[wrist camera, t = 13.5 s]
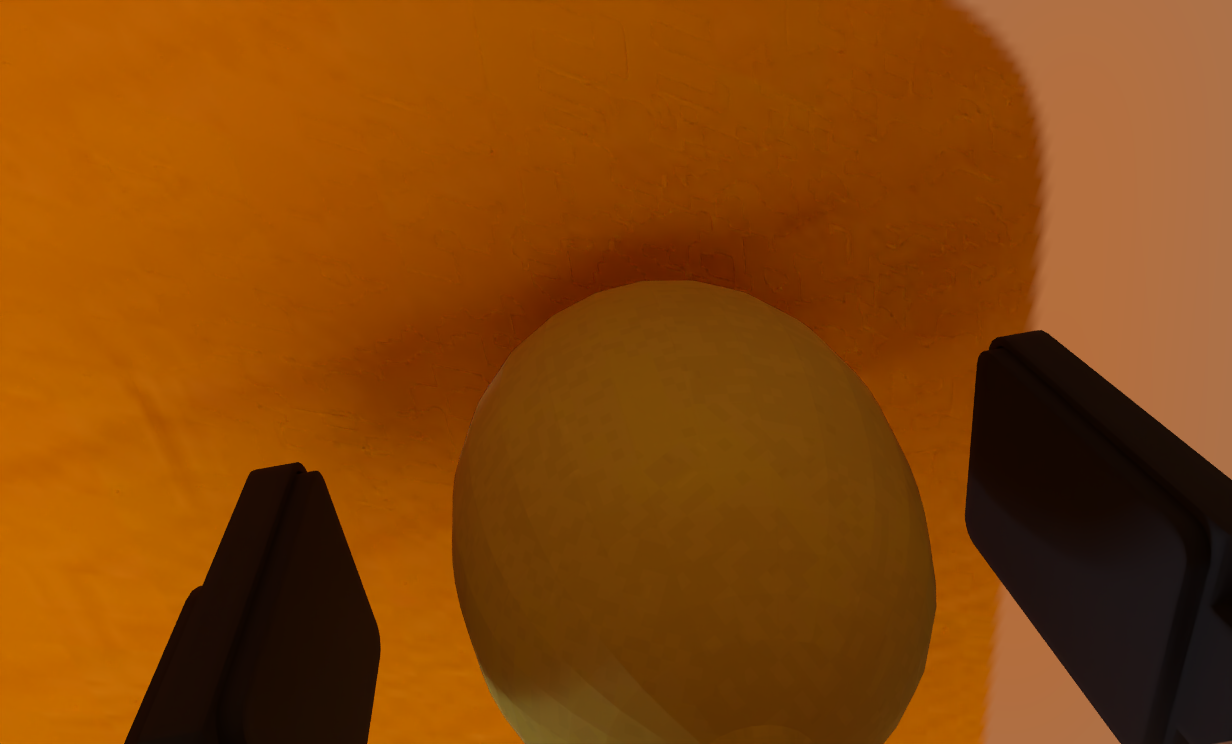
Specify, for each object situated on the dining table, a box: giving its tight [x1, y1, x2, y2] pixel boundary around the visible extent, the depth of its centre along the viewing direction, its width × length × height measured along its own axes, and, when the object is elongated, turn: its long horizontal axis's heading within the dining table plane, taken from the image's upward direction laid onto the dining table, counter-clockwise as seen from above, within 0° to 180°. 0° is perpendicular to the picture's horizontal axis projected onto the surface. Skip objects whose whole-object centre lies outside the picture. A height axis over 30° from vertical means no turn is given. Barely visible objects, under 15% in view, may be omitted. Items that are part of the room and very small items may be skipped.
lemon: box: [452, 280, 936, 744], centre depth 11 cm, size 6×6×8 cm
